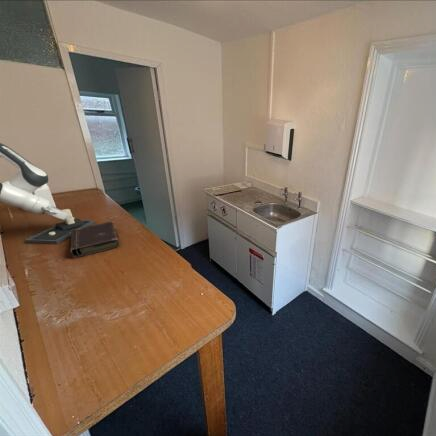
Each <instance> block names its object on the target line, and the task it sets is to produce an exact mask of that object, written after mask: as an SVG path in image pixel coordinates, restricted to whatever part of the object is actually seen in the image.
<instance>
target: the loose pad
mask: <svg viewBox="0 0 436 436" xmlns="http://www.w3.org/2000/svg"><path fill="white" fill-rule="evenodd" d="M61 210H62V211H63V212H65V213H67V214H68V215H69V216H71V217H73V213H72V211H71V209H70V208H65V209H61ZM82 220H83V219H80V218H79V217H78V218H74V220H73V221H72V220H69V219H65V220H64V221H65V222H64V221H61V222H58V223H55V226H57V227H59V228H60V229H62V230H67V229H70V228H74V227H78V226H81V225H85V224H86V223H85V222H84V221H82Z"/></svg>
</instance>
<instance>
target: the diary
mask: <svg viewBox="0 0 436 436" xmlns="http://www.w3.org/2000/svg"><path fill="white" fill-rule="evenodd" d="M119 237H120V236H119V235H118V234H117V232H116V228H115V226H114V223H113V221H108V222H102V223H96V224H95V223H94V224H92V225H90V226H86V227H82V228H78V229H72V232H71V236H70V250H69V253H70V256H71V257H72V259H76V258H79V257H80V258H81V257H84V256H88V255H92V254H96V253H97V254H98V253H100V252H104V251H108V250H112V249H115V248H119V247H120V243H119V240H118V238H119Z"/></svg>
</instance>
